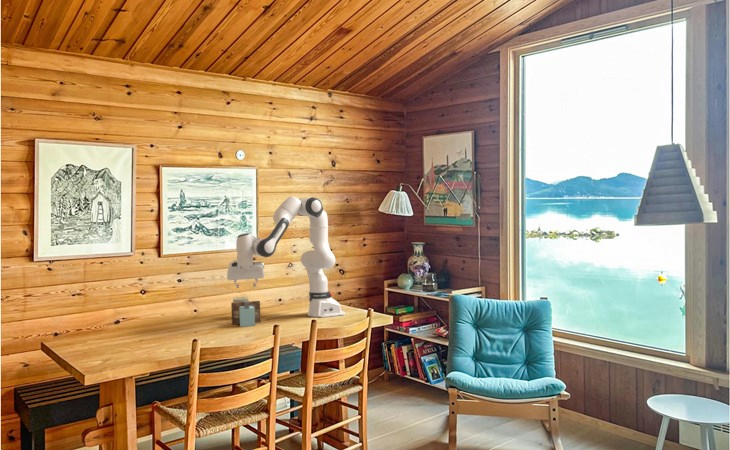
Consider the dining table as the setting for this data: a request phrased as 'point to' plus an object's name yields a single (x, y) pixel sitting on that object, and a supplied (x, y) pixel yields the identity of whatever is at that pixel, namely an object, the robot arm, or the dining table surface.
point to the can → (240, 299)
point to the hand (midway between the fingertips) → (246, 287)
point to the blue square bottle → (247, 315)
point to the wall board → (236, 312)
